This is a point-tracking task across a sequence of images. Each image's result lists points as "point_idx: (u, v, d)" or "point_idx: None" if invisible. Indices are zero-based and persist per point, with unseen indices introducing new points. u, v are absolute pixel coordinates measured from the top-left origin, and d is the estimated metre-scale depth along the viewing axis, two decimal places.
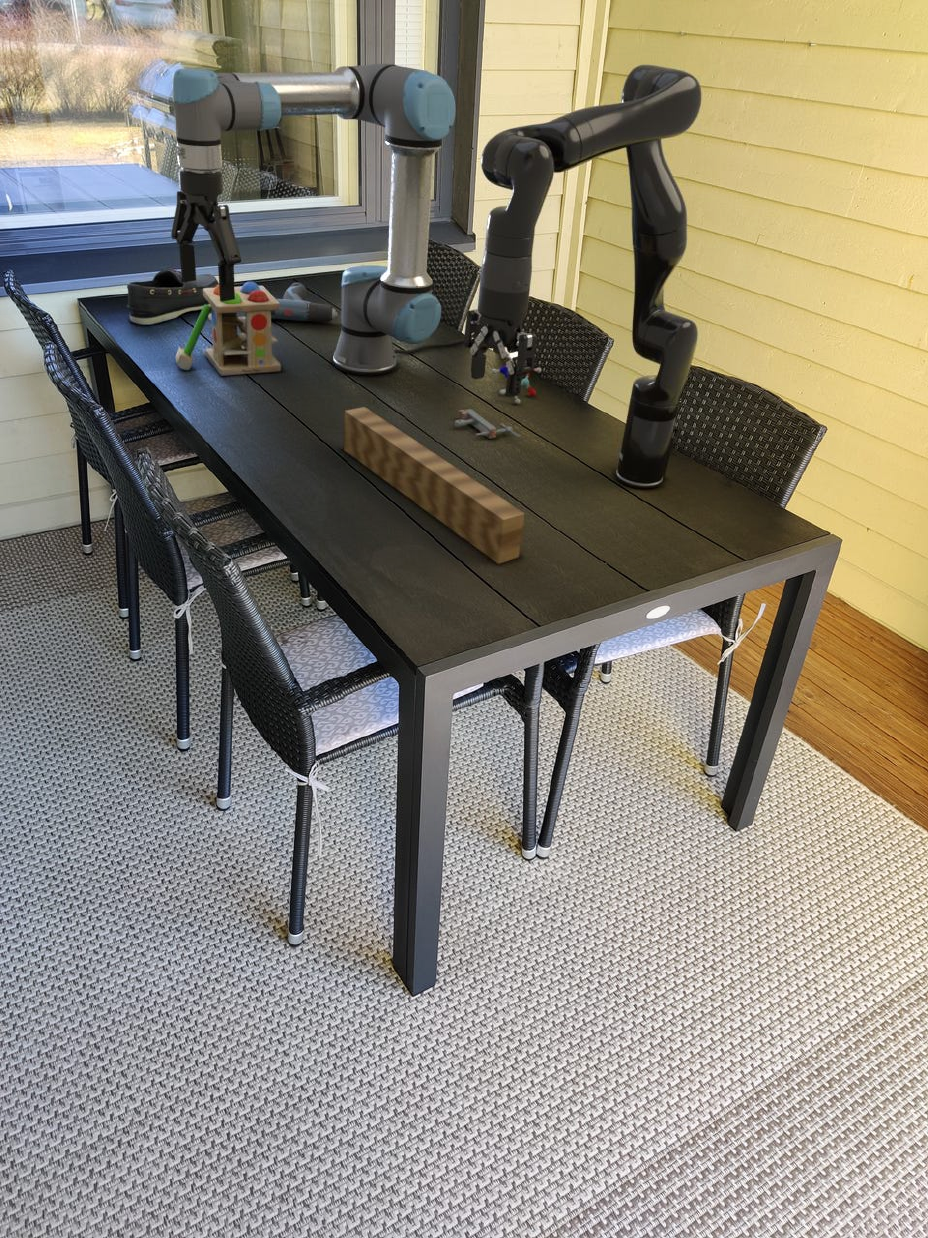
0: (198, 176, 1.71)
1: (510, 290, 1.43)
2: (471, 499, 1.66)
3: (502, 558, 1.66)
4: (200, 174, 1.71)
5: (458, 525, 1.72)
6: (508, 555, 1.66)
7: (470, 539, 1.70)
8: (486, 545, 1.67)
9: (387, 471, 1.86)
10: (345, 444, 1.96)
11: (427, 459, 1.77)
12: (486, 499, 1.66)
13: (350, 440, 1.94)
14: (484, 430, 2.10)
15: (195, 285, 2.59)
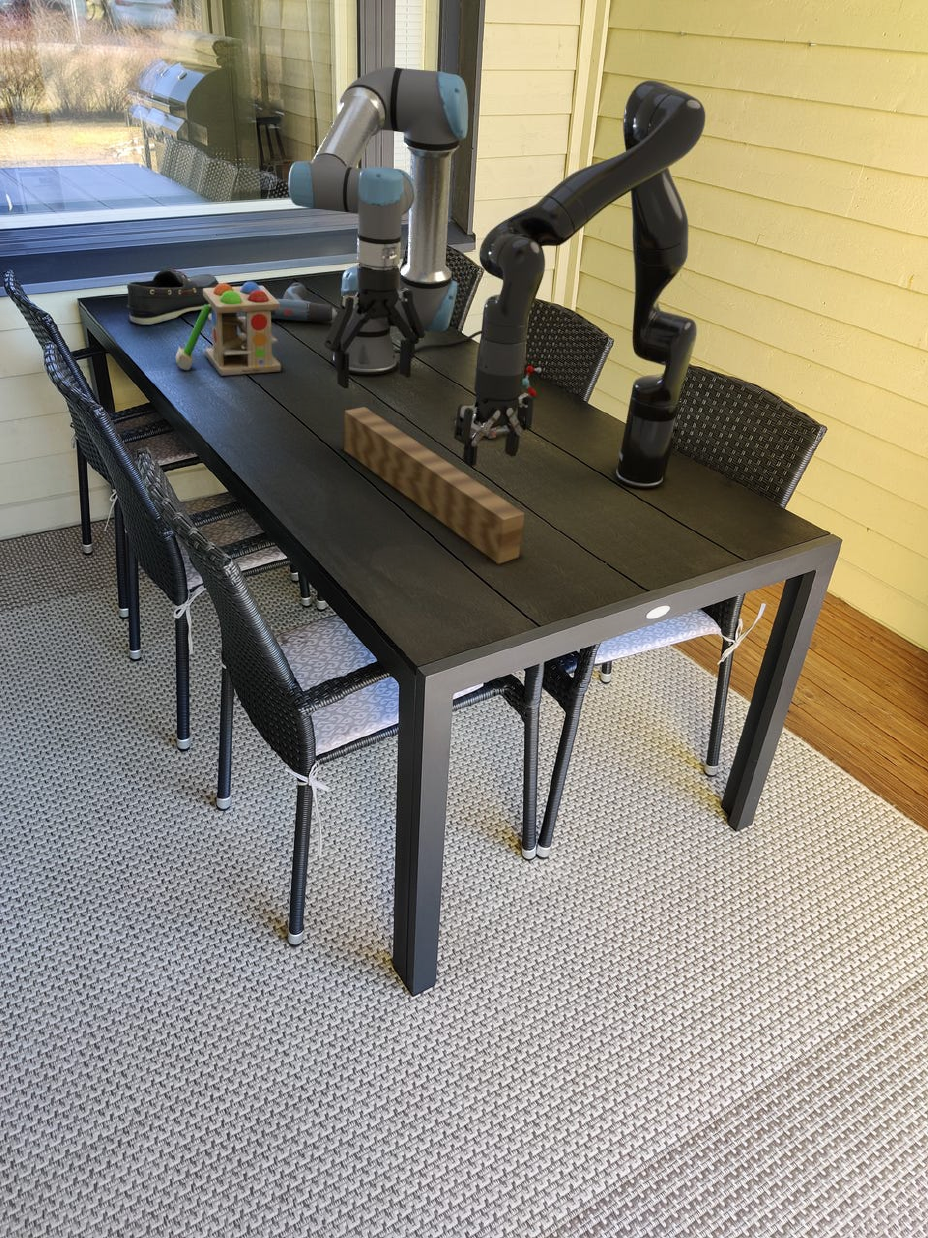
0: (398, 269, 1.73)
1: (477, 364, 1.53)
2: (471, 499, 1.66)
3: (502, 558, 1.66)
4: (397, 267, 1.73)
5: (458, 525, 1.72)
6: (508, 555, 1.66)
7: (470, 539, 1.70)
8: (486, 545, 1.67)
9: (387, 471, 1.86)
10: (345, 444, 1.96)
11: (427, 459, 1.77)
12: (486, 499, 1.66)
13: (350, 440, 1.94)
14: None
15: (195, 285, 2.59)
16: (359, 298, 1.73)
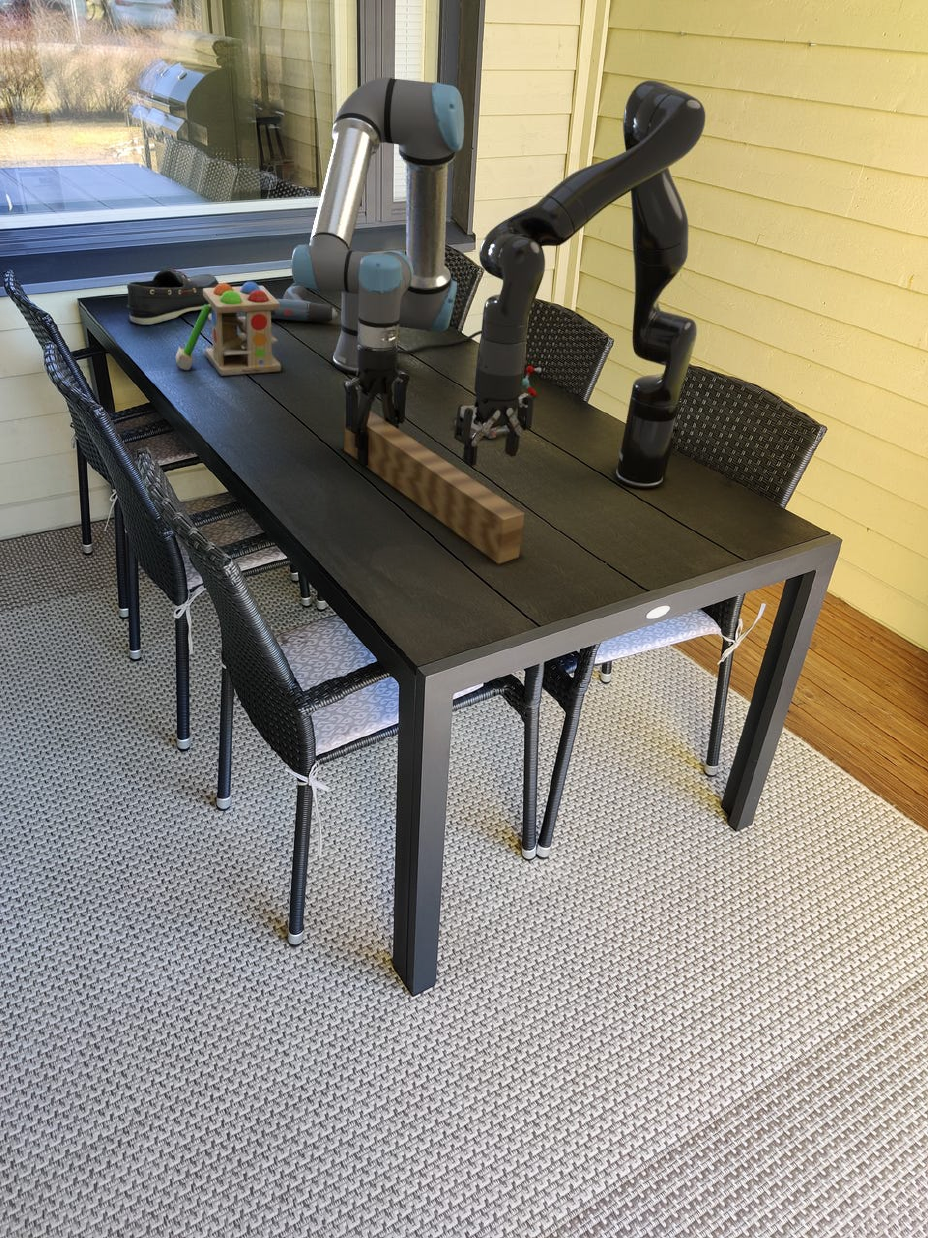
0: (397, 349, 1.81)
1: (477, 364, 1.53)
2: (471, 499, 1.66)
3: (502, 558, 1.65)
4: (396, 346, 1.81)
5: (458, 525, 1.72)
6: (508, 555, 1.66)
7: (470, 539, 1.70)
8: (486, 545, 1.67)
9: (387, 471, 1.86)
10: (345, 444, 1.96)
11: (427, 459, 1.77)
12: (486, 499, 1.66)
13: (350, 440, 1.94)
14: None
15: (195, 285, 2.59)
16: (359, 379, 1.81)
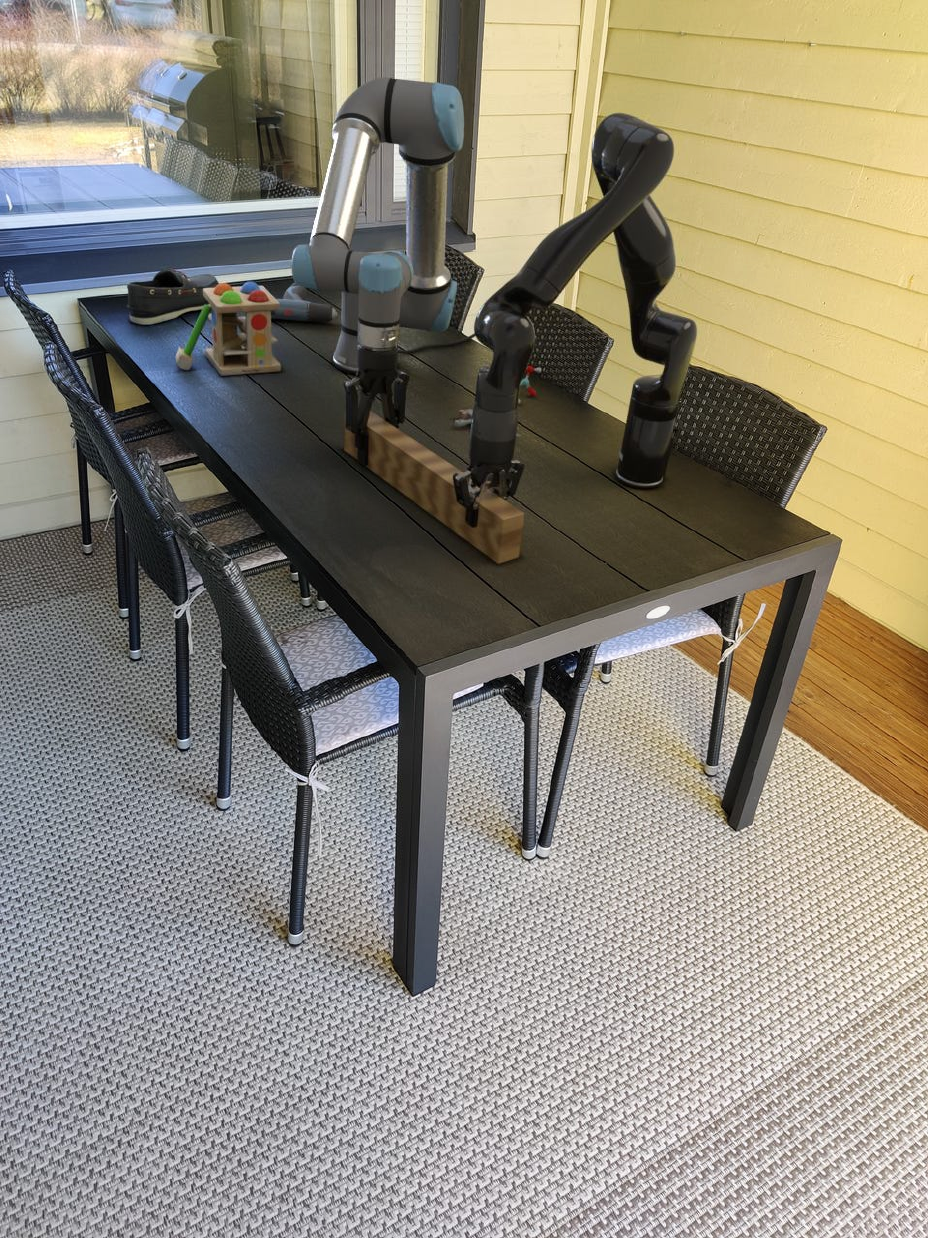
0: (397, 349, 1.81)
1: (471, 430, 1.59)
2: None
3: (502, 558, 1.65)
4: (396, 346, 1.81)
5: (458, 525, 1.72)
6: (508, 555, 1.66)
7: (470, 539, 1.70)
8: (486, 545, 1.67)
9: (387, 471, 1.86)
10: (345, 444, 1.96)
11: (427, 459, 1.77)
12: (486, 499, 1.66)
13: (350, 440, 1.94)
14: None
15: (195, 285, 2.59)
16: (359, 379, 1.81)
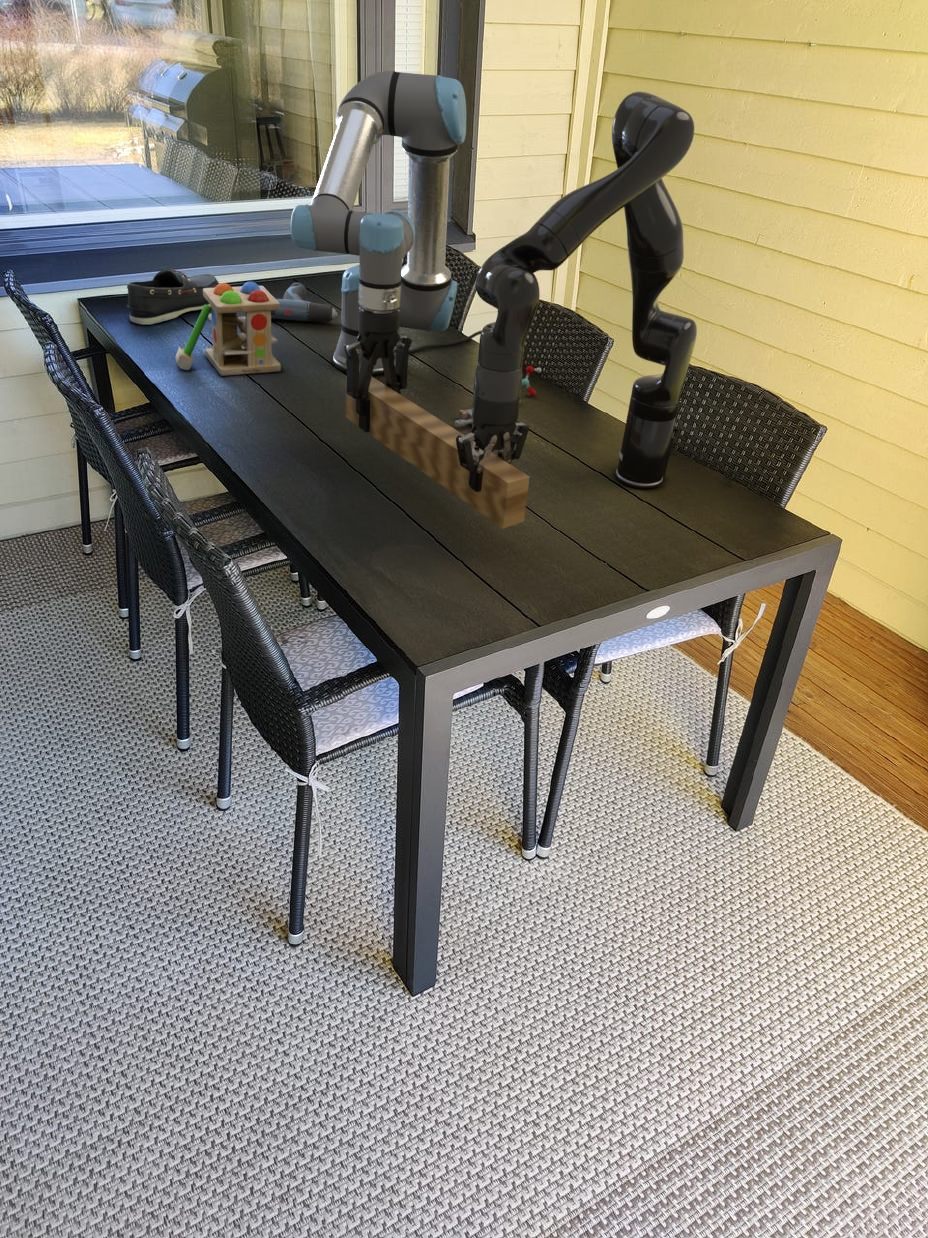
0: (399, 311, 1.77)
1: (474, 390, 1.56)
2: None
3: (506, 523, 1.62)
4: (398, 309, 1.77)
5: (462, 490, 1.68)
6: (513, 520, 1.63)
7: (474, 504, 1.67)
8: (491, 510, 1.63)
9: (389, 437, 1.82)
10: (346, 411, 1.93)
11: (429, 423, 1.74)
12: (490, 462, 1.63)
13: (352, 406, 1.90)
14: None
15: (195, 285, 2.59)
16: (360, 343, 1.77)
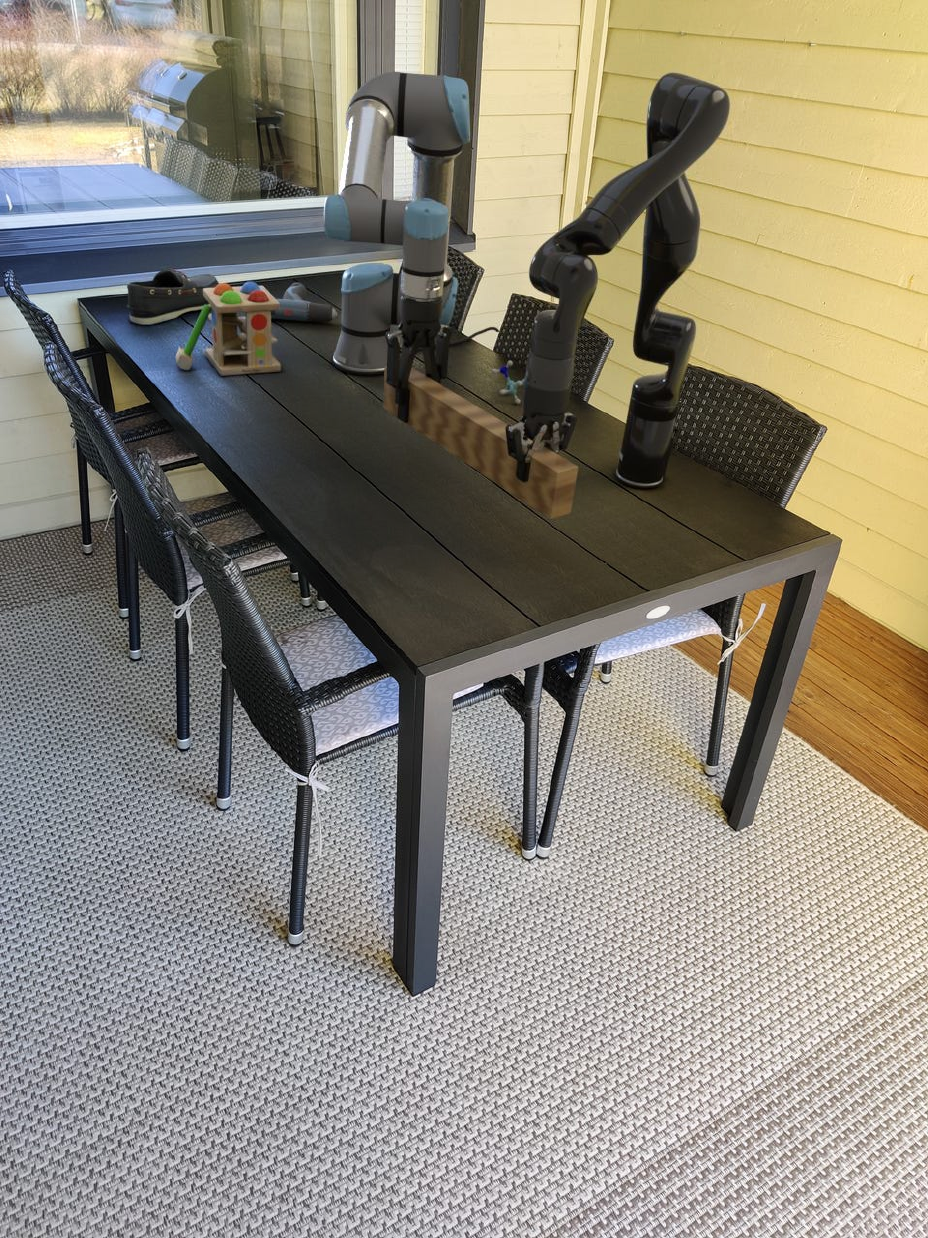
0: (441, 300, 1.75)
1: (525, 379, 1.54)
2: None
3: (554, 513, 1.61)
4: (440, 298, 1.76)
5: (507, 480, 1.67)
6: (560, 510, 1.61)
7: (520, 495, 1.65)
8: (538, 500, 1.62)
9: (430, 427, 1.81)
10: (384, 402, 1.91)
11: (473, 413, 1.72)
12: (538, 452, 1.61)
13: (390, 396, 1.89)
14: None
15: (195, 285, 2.59)
16: (402, 331, 1.76)
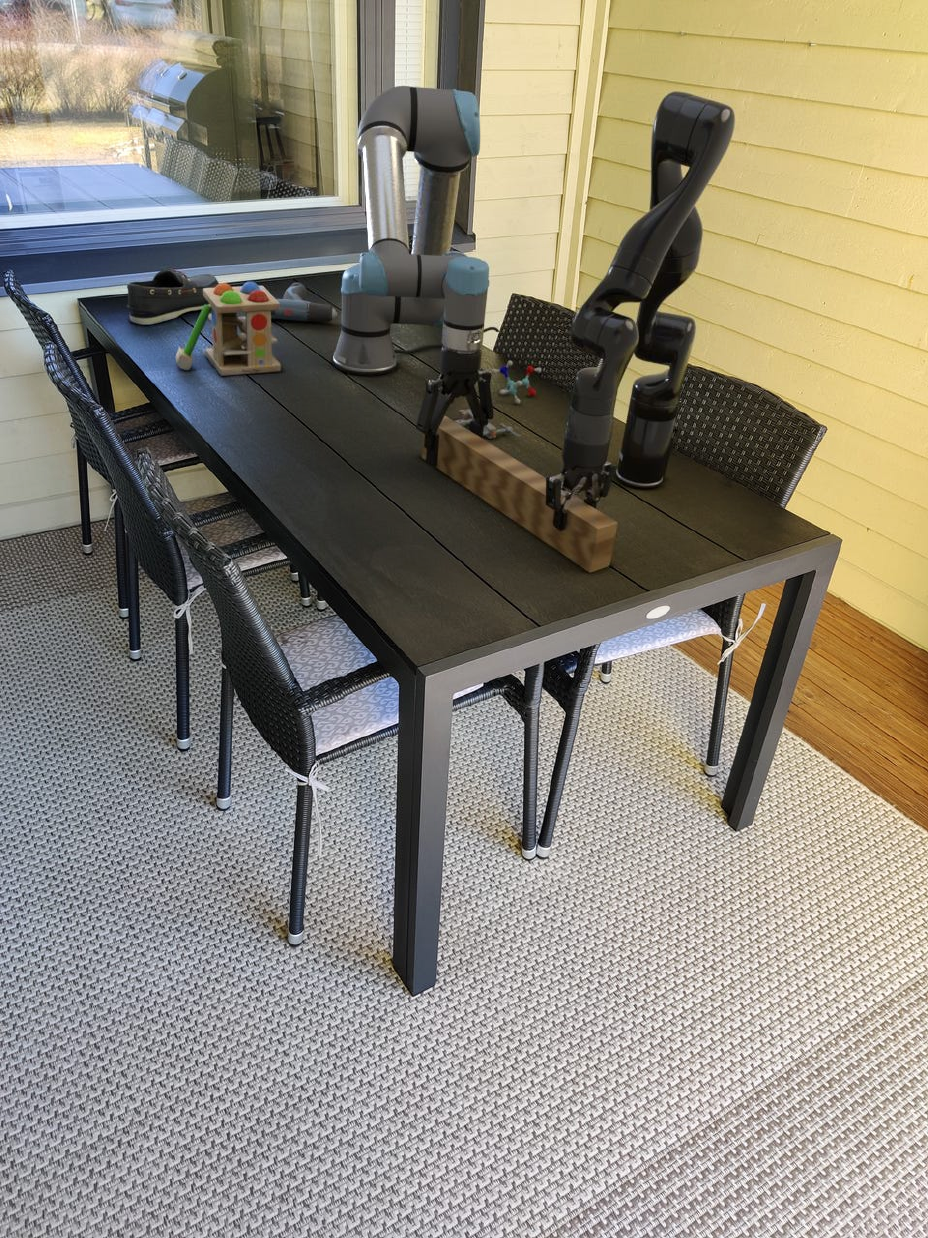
0: (481, 351, 1.81)
1: (565, 433, 1.59)
2: None
3: (593, 567, 1.66)
4: (480, 349, 1.81)
5: (547, 533, 1.72)
6: (599, 564, 1.66)
7: (559, 548, 1.70)
8: (577, 554, 1.67)
9: (469, 478, 1.86)
10: (423, 452, 1.96)
11: (513, 467, 1.78)
12: (577, 508, 1.66)
13: None
14: (484, 430, 2.10)
15: (195, 285, 2.59)
16: (443, 380, 1.81)
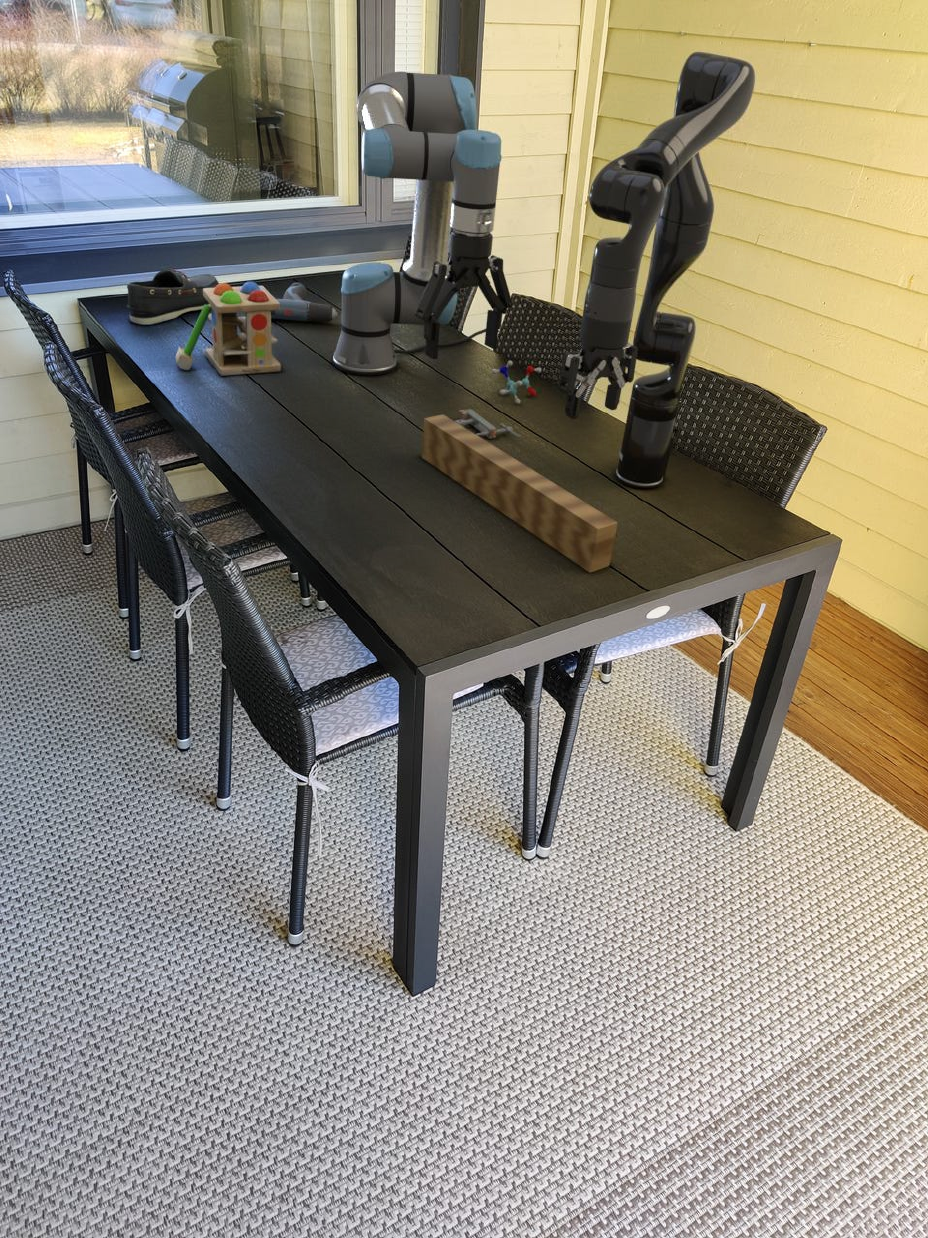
0: (492, 236, 1.69)
1: (584, 311, 1.48)
2: (562, 508, 1.67)
3: (593, 567, 1.66)
4: (490, 233, 1.69)
5: (547, 533, 1.72)
6: (599, 564, 1.66)
7: (559, 548, 1.70)
8: (577, 554, 1.67)
9: (469, 478, 1.86)
10: (423, 452, 1.96)
11: (513, 467, 1.78)
12: (577, 508, 1.66)
13: (429, 447, 1.94)
14: (484, 430, 2.10)
15: (195, 285, 2.59)
16: (452, 266, 1.69)
